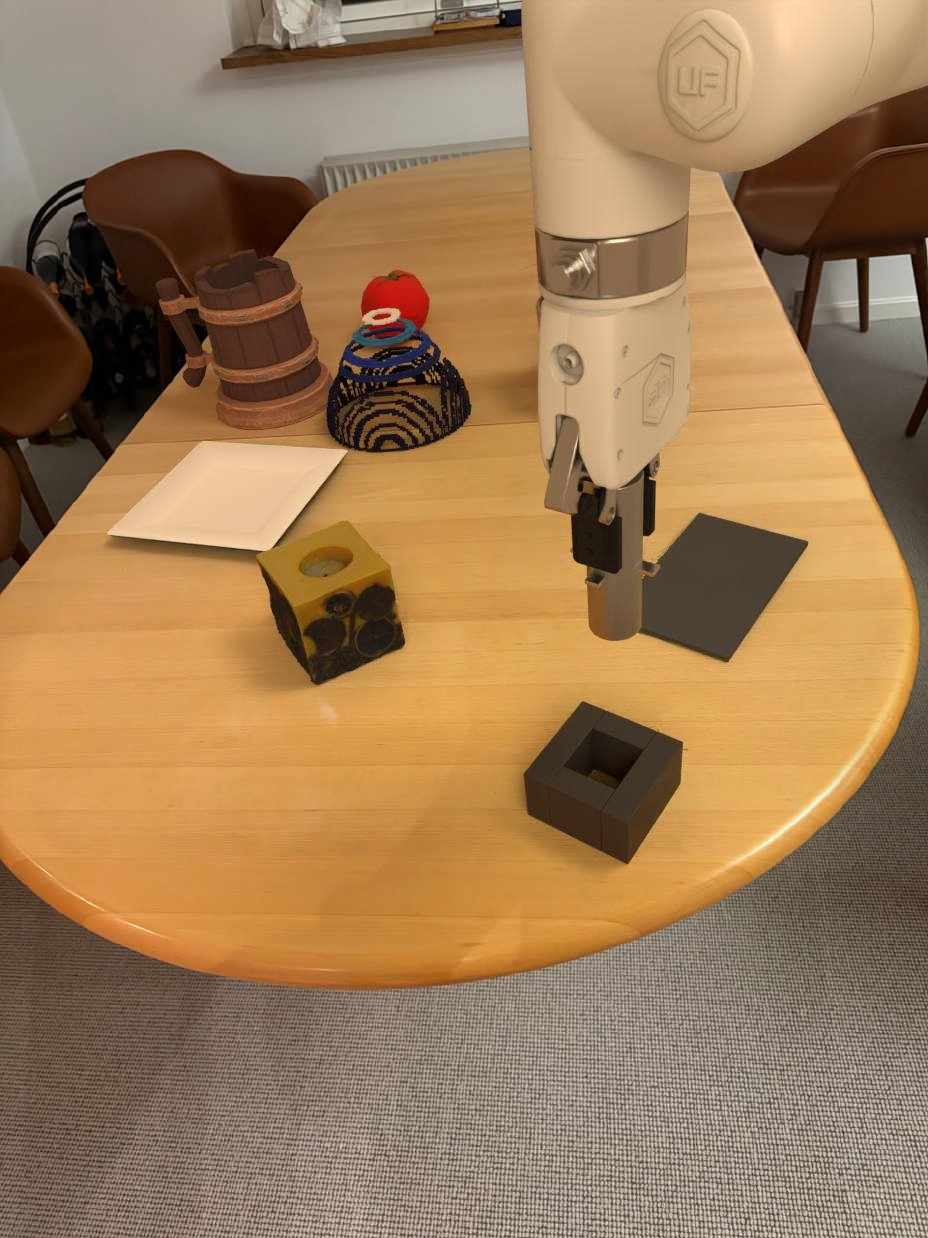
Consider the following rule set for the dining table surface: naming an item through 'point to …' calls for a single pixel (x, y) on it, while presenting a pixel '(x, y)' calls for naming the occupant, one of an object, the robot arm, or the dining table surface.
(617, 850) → the dark square ring block
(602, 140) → the robot arm
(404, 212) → the dining table surface
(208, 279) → the mug
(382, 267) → the dining table surface
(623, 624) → the bronze metal rod
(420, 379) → the decorative bowl
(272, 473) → the plate
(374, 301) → the tomato
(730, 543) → the mat
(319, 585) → the candle
